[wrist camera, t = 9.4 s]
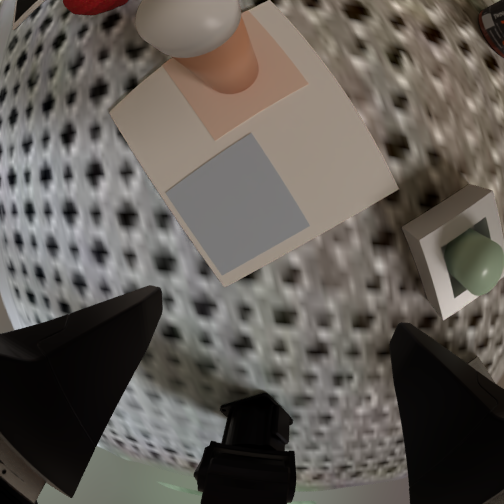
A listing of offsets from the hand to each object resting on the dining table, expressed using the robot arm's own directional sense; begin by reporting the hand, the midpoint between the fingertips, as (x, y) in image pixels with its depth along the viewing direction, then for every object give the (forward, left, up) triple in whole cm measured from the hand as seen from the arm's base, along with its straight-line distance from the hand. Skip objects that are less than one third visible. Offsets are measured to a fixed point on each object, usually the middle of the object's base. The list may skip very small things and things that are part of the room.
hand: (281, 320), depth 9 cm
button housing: (+12, -9, -13) cm, 20 cm away
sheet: (+1, +7, -13) cm, 15 cm away
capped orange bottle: (+3, +12, -13) cm, 18 cm away
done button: (+12, -9, -11) cm, 19 cm away
